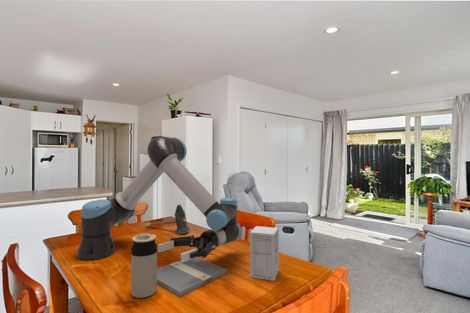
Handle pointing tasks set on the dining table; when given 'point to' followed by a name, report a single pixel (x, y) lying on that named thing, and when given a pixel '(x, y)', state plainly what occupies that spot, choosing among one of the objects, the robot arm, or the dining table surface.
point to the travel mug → (143, 266)
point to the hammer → (175, 221)
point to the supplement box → (264, 253)
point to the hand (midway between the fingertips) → (169, 253)
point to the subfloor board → (188, 275)
